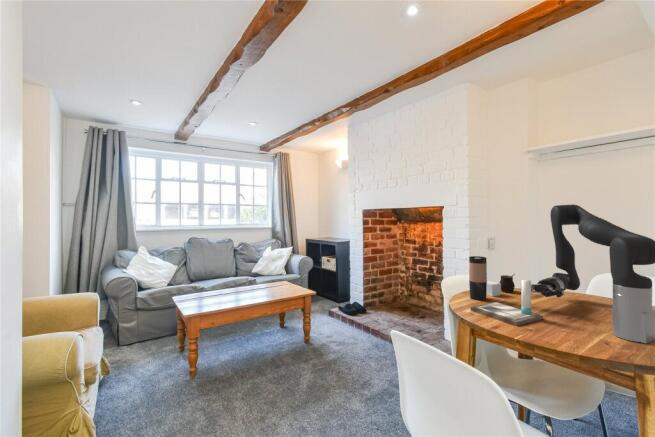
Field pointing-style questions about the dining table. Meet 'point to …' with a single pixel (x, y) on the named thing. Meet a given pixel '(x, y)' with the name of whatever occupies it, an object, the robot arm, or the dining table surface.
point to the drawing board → (506, 313)
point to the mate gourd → (507, 283)
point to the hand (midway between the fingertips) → (534, 292)
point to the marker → (526, 297)
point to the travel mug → (478, 277)
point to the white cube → (493, 288)
